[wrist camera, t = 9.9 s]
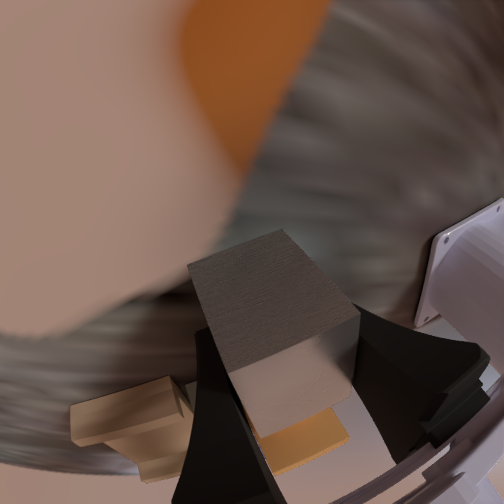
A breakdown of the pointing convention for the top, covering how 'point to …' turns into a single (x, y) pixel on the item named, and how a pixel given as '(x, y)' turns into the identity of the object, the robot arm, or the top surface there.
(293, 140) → the top surface
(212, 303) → the grey block
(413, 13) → the top surface
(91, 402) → the tan flat bracket
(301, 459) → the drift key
